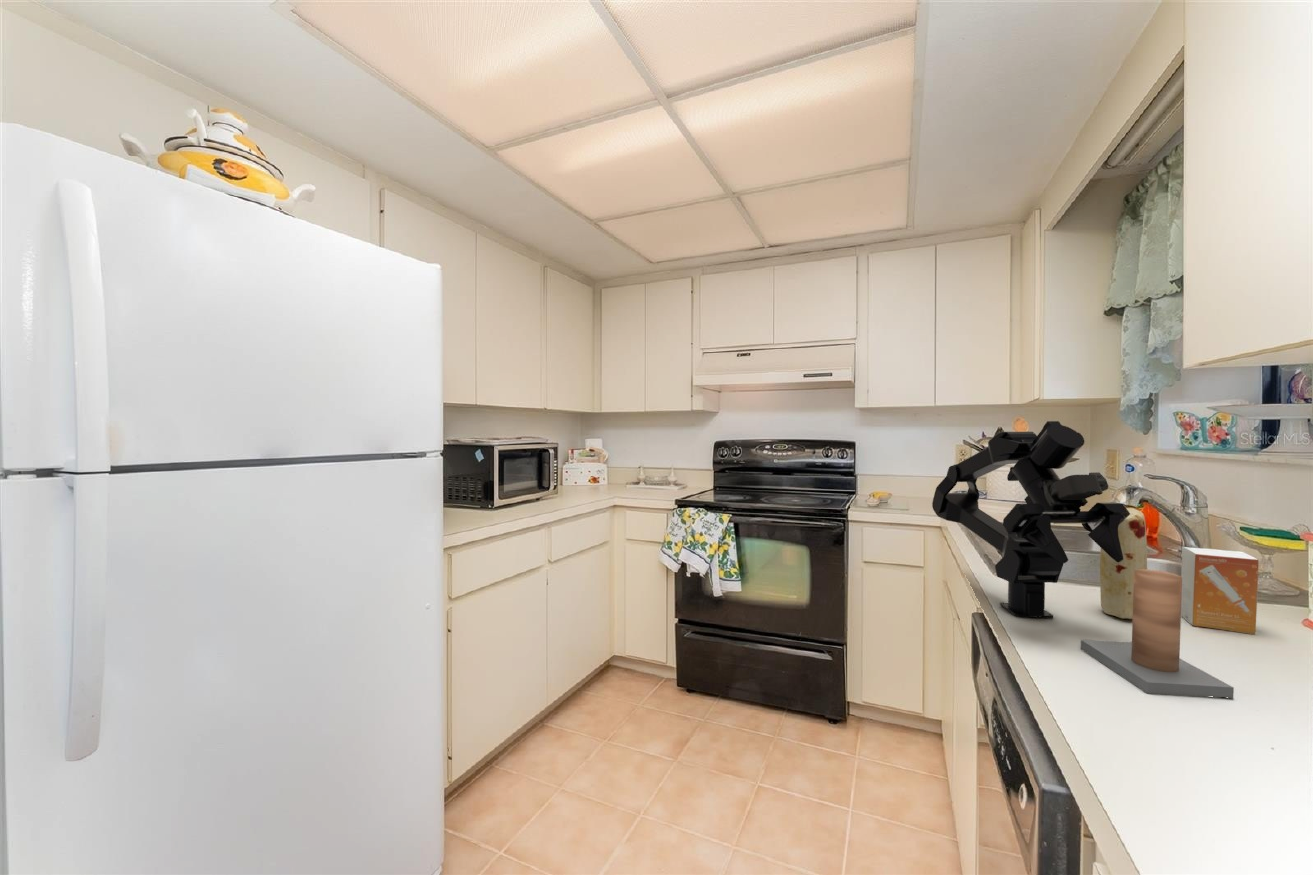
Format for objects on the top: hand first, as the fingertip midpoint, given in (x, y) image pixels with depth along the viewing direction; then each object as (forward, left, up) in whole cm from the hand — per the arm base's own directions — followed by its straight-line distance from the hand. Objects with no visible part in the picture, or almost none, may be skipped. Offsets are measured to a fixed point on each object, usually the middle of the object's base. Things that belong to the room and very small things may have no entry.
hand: (1093, 561), depth 86 cm
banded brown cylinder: (+10, +2, -12) cm, 16 cm away
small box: (-12, +27, -14) cm, 33 cm away
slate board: (+9, +2, -14) cm, 16 cm away
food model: (-15, +14, -14) cm, 25 cm away
